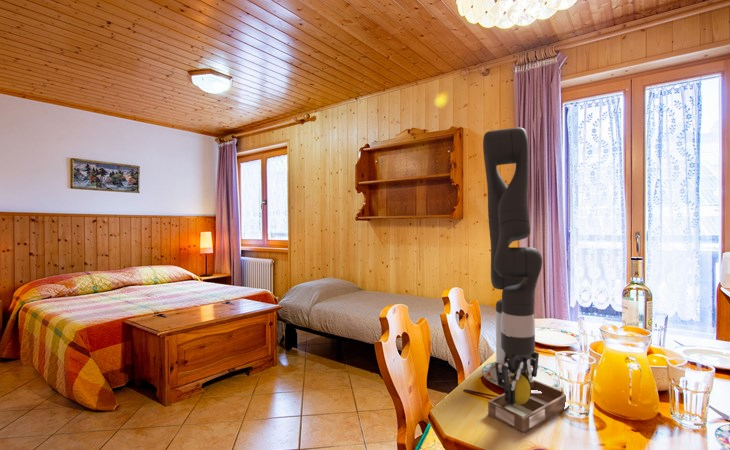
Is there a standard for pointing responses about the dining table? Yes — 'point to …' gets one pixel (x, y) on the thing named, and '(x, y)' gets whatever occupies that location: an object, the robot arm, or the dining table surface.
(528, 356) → the robot arm
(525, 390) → the lemon
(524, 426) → the tray
